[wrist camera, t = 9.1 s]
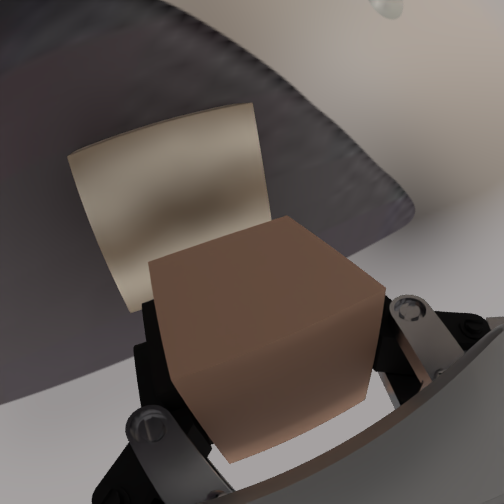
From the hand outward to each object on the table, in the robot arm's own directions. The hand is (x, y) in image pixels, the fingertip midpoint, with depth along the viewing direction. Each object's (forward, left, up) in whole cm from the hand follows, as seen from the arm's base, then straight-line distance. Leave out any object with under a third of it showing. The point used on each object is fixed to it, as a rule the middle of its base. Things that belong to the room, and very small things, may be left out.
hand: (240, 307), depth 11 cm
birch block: (0, 0, -14) cm, 14 cm away
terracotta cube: (0, 0, -1) cm, 1 cm away
